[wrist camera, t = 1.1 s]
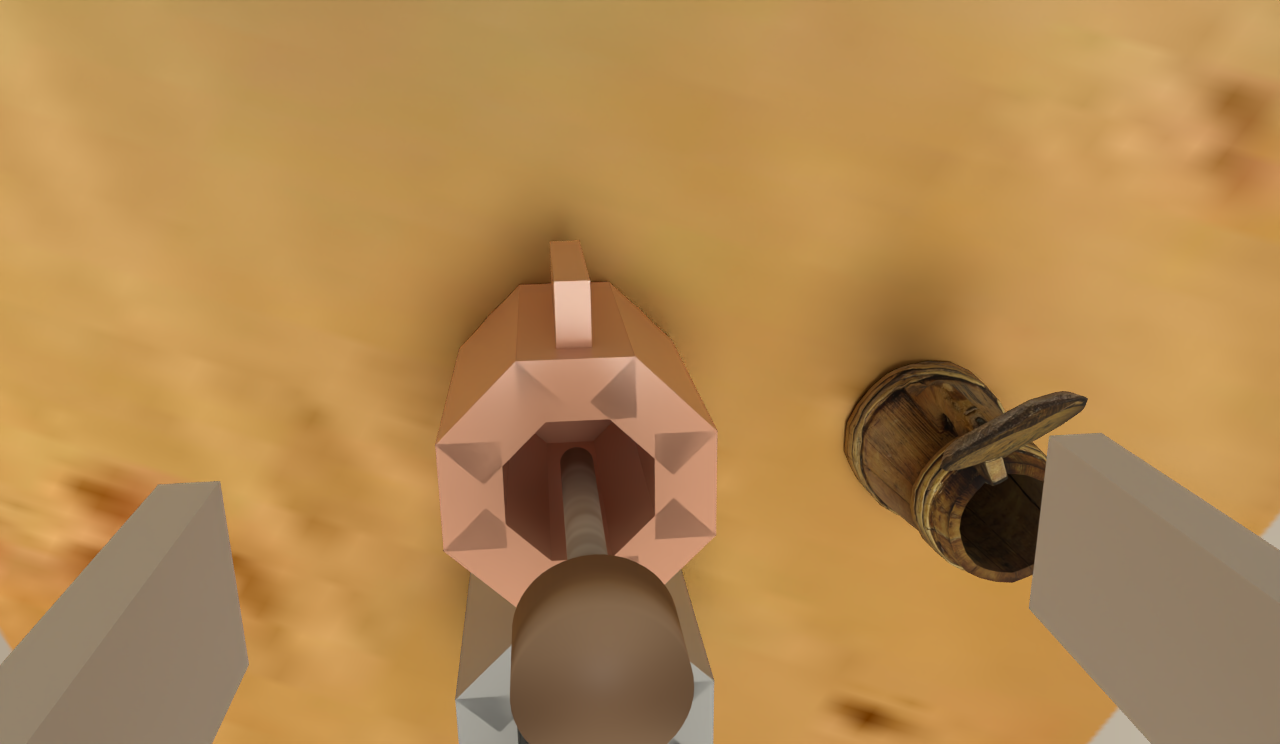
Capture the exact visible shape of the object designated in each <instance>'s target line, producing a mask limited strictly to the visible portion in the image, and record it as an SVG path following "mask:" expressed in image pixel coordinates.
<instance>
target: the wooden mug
mask: <svg viewBox="0 0 1280 744" xmlns="http://www.w3.org/2000/svg"><path fill="white" fill-rule="evenodd" d="M1087 400H1088V398H1086V397H1083V396H1080V395H1077V394H1074V393H1071V392H1066V391H1061V392H1055V393H1051V394H1048V395H1044V396H1041V397H1038V398H1034V399H1031V400H1028V401H1026V402H1025V403H1023V404H1021V405H1019V406H1017V407H1015V408H1013V409H1011V410H1009V411H1007V412H1006V413H1005V412H1004V409H1003V407H1002V405H1001V403H1000V402H999V400H998V399H997V398H996V397H995V396H994V394H993V393H992V392H991V391H990V390H989V389H988V388H987V387H986V385H985V384H983V383H982V382H981V381H980V380H979V379H978V378H977V377H976V376H975V375H974V374H972V373H971V372H970V371H968V370H966V369H964V368H962V367H960V366H958V365H955V364H953V363H951V362H938V361H925V362H920V363H915V364H911V365H907V366H904V367H900V368H897V369H895V370H894V371H892V372H890V373H888V374H886V375H885V376H884V377H883V378H881V379H880V380H879V381H878V382H877V383H875V384H874V385H873V386H872V387H871V388H870V389H869V390H868V392H867V393H866V394H865V395H864V396H863V398H862V399H861V400H860V401H859V403H858V404H857V405H856V407H855V409H854V411H853V413H852V415H851V417H850V419H849V420H848V422H847V427H846V439H845V450H844V452H845V455H846V457H847V459H848V462H849V464H850V466H851V468H852V470H853V472H854V474H855V476H856V477H857V479H858V480H859V481H860V483H861V484H862V485H863V486H864V487H865V488H866V489H867V491H868V492H869V493H870V494H871V495H872V496H873V497H874V498H875V499H876V501H877V502H878V503H879V504H880V505H881V506H883V507H885V508H886V509H888V510H890V511H891V512H893V513H895V514H896V515H900V516H901V517H902V518H904V519H905V520H906V521H907V522H908V523H910V524H911V525H912V526H913V527H915V528H916V529H917V530H918V531H919V532H920V534H921V536H922V538H923V539H924V540H925V541H926V542H927V543H928V544H929V545H930V546H931V547H932V548H933V549H934V551H935V552H937V553H938V554H939V555H940V556H941V557H943V558H944V559H945V560H946V561H947V562H948V563H950V564H951V565H953V566H955V567H957V568H959V569H961V570H965V571H967V572H968V573H971V574H973V575H975V576H977V577H979V578H983V579H987V580H991V581H995V582H1015V581H1018V580H1020V579H1023V578H1026V577H1028V576H1030V575H1033V570H1034V561H1035V553H1036V545H1037V536H1038V528H1039V519H1040V511H1041V502H1042V494H1043V486H1044V477H1045V469H1046V460H1047V456H1046V455H1045V454H1044V453H1043V452H1042V451H1041V450H1040V449H1039V448H1038V447H1037V446H1036V445H1035V444H1034V443H1033V442H1032V441H1034V440H1036V439H1038V438H1040V437H1042V436H1043V435H1045V434H1047V433H1048V432H1050V431H1052V430H1054V429H1055V428H1057V427H1059V426H1060V425H1062V424H1064V423H1065V422H1067V421H1068V420H1070V419H1071V418H1072V417H1074V416H1075V415H1077V414H1078V413H1080V412H1081V411H1082V410H1083V409H1084V407H1085V405H1086V402H1087Z"/></svg>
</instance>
